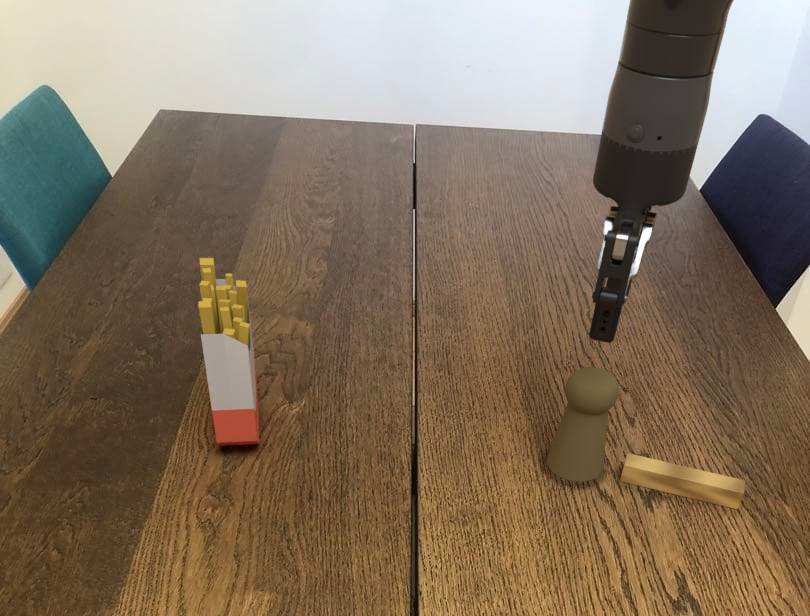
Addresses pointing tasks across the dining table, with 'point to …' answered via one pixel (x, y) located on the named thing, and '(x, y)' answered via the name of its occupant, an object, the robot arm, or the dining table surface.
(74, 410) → the dining table surface
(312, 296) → the dining table surface
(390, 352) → the dining table surface
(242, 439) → the french fries container
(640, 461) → the golden stick
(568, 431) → the olive pawn
